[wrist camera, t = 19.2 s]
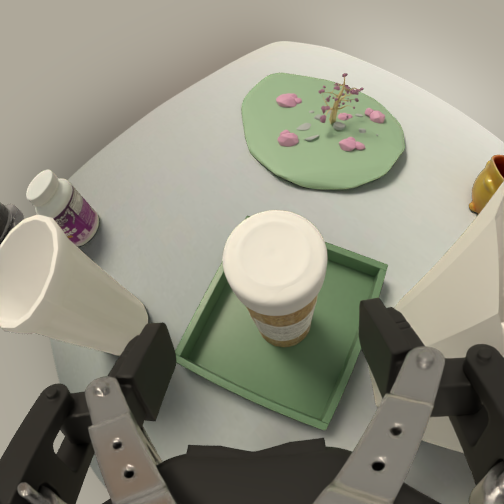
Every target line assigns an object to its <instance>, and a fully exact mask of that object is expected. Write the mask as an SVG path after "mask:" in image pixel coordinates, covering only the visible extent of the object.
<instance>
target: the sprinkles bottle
mask: <svg viewBox="0 0 504 504" xmlns="http://www.w3.org/2000/svg"><path fill="white" fill-rule="evenodd" d="M327 259H328V257H327V248H326V244H325V242H324V239H323V237H322V235H321V233H320V232H319V231H318V229H317V228H316V227H315V226H314V225H313V224H312V223H311V222H310V221H308V220H307V219H305V218H304V217H302V216H300V215H298V214H295V213H292V212H288V211H281V210H272V211H265V212H260V213H258V214H255V215H253V216H251V217H249V218H247V219H245V220H244V221H243V222H241V223H240V224H239V225H238V226H237V227H236V228H235V229H234V230H233V232H232V233H231V234H230V236H229V238H228V240H227V242H226V244H225V248H224V251H223V269H224V273H225V276H226V279H227V281H228V283H229V285H230V287H231V288H232V290H233V292H234V293H235V295H236V296H237V298H238V299H239V300H240V301H241V302H242V303H243V304H244V305H245V306H246V308H247V309H248V311H249V314H250V316H251V318H252V320H253V321H254V323H255V325H256V326H257V328H258V330H259V332H260V334H261V335H262V337H263V338H264V339H265V340H266V341H267V342H269V343H270V344H272V345H274V346H278V347H290V346H294V345H296V344H298V343H299V342H301V341H302V340H303V339H304V338H305V337H306V336H307V334H308V332H309V330H310V327H311V320H312V317H313V313H314V309H315V305H316V302H317V297H318V293H319V291H320V289H321V287H322V285H323V282H324V278H325V274H326V268H327Z"/></svg>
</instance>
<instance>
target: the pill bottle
mask: <svg viewBox="0 0 504 504" xmlns="http://www.w3.org/2000/svg"><path fill="white" fill-rule="evenodd" d="M26 197H27V199H28V200H29V201H30V202H31V203H32V204H33V205H35V211H36V214H37V215H43V216H47V217H51V218H53V219H54V220H55V222H56V223H57V224H58V225H59V227H60V228H61V229H62V230H63V232H64V233H65V235H66V236H67V238H68V239H69V240H70V241H71V242H73V243H74V244H75V245H76V246H81V245H84V244H85V243H87V242H88V241H89V240H90V239H91V238H92V237H93V236H94V235H95V233H96V231H97V228H98V225H99V218H98V214H97V213H96V211H95V210H94V209H93V208H92V207H91V206H90V205H89V204H88V203H87V202H86V200H85V199H84V198H83V197H82V196H81V195H80V194H79V193H78V191H77V190H76V189H75V188H74V187H73V186H72V185H71V183H70V182H69V181H67V180H65V179H58V178H57V176H56V175H55V174H54V173H53V172H52V171H51V170H44V171H42V172H41V173H39V174H38V175H37V176H36V177H35V178H34V179H33V180H32V181H31V183H30V185H29V187H28V189H27V192H26Z"/></svg>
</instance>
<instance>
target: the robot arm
mask: <svg viewBox="0 0 504 504" xmlns="http://www.w3.org/2000/svg"><path fill="white" fill-rule="evenodd" d="M11 222H12V213H11V211H10V210H9V209H8V208H7V207H5V206H4V205H3V204H1V203H0V245H1V243H2V242H3V241H4V239H5V238H6V236H7V234H8V231H9V229H10V226H11ZM359 342H360V346H361V348H362V351H363V353H364V355H365V358H366V360H367V362H368V365H369V367H370V370H371V372H372V374H373V377H374V379H375V382H376V384H377V386H378V389H379V391H380V394H381V396H382V401H381V403H380V405H379V407H378V409H377V411H376V413H375V414H374V416H373V418H372V420H371V422H370V423H369V425H368V427H367V429H366V430H365V432H364V434H363V436H362V437H361V439H360V441H359V442H358V444H357V446H356V447H355V449H354V450H353V452H351V451H348V450H345V449H341V448H335V447H325V440H324V438H319V439H312V440H304V441H295V442H289V443H285V444H282V445H278V446H275V447H271V448H268V449H264V450H260V451H256V452H251V451H245V450H239V449H234V448H228V447H224V446H201V445H188V449H187V453H186V454H184V455H179V456H176V457H173V458H170V459H168V460H166V461H162V460H161V458H160V456H159V455H158V453H157V451H156V449H155V447H154V446H153V444H152V442H151V440H150V438H149V436H148V434H147V432H146V430H145V429H144V427H143V423H144V420H147V421H156V418H157V415H158V413H159V410H160V407H161V404H162V402H163V399H164V396H165V393H166V391H167V388H168V385H169V382H170V380H171V377H172V374H173V372H174V369H175V366H176V353H175V350H174V347H173V344H172V341H171V338H170V335H169V332H168V329H167V326H166V325H165V323H148V324H146V325H145V327H144V328H143V330H142V332H141V333H140V335H137V336H135V337H134V338H133V339H132V340H131V341H129V342H128V344H127V345H126V347H125V349H124V351H123V352H122V353H121V355H120V357H119V358H118V360H117V361H116V363H115V365H114V366H113V368H112V370H111V371H110V373H109V375H108V376H105V377H100V378H97V379H95V380H94V381H92V382H91V383H90V384H89V385H88V386H87V388H86V390H85V392H79V393H72V394H71V393H70V392H69V390H68V388H67V387H66V386H65V385H63V384H54V385H51V386H49V387H47V388H46V389H45V390H44V391H43V392H42V393H41V394H40V396H39V397H38V399H37V400H36V402H35V403H34V405H33V406H32V408H31V409H30V411H29V413H28V414H27V416H26V417H25V419H24V420H23V422H22V424H21V425H20V427H19V429H18V430H17V432H16V433H15V435H14V437H13V438H12V440H11V442H10V444H9V445H8V447H7V449H6V451H5V452H4V454H3V456H2V457H1V459H0V504H76V501H77V498H78V495H79V493H80V490H81V487H82V484H83V481H84V479H85V476H86V473H87V471H88V468H89V465H90V463H91V460H92V458H93V455H94V453H95V455H96V458H97V461H98V464H99V467H100V470H101V473H102V476H103V479H104V482H105V485H106V487H107V490H108V493H109V495H110V499H109V500H107V501H106V502H104V503H103V504H441V503H439V502H437V501H435V500H433V499H432V498H430V497H428V496H426V495H424V494H423V493H421V492H419V491H417V490H415V489H414V488H412V487H410V486H409V485H407V484H405V483H404V480H405V478H406V476H407V474H408V472H409V469H410V467H411V465H412V463H413V460H414V458H415V456H416V453H417V451H418V448H419V446H420V443H421V441H422V438H423V436H424V433H425V430H426V427H427V425H428V422H429V419H430V417H445V416H448V417H449V419H450V421H451V424H452V426H453V428H454V430H455V433H456V435H457V437H458V440H459V442H460V445H461V447H462V449H463V452H464V454H465V457H466V459H467V462H468V465H469V467H470V470H471V472H472V475H473V478H474V481H475V483H476V486H475V487H474V489H473V490H472V492H471V494H470V497H469V504H504V358H503V356H502V355H501V354H500V353H499V351H498V350H497V349H496V348H494V347H492V346H490V345H487V344H476V345H473V346H472V347H470V348H469V349H468V351H467V353H466V357H465V358H445V357H444V355H443V354H442V353H441V352H440V351H439V350H437V349H435V348H433V347H427V346H425V345H424V344H423V342H422V341H421V339H420V338H419V337H418V335H417V334H416V332H415V331H414V330H413V328H412V327H411V326H410V324H409V323H408V321H406V319H405V317H404V316H403V315H402V313H401V312H399V311H397V310H396V309H394V308H392V307H390V308H386V307H385V306H384V305H383V303H382V302H381V300H380V299H379V298H373V299H367V300H361V301H360V305H359ZM59 430H61V431H62V433H63V434H64V435H65V438H64V440H63V442H62V444H61V446H60V448H59V450H58V452H57V454H55V452H54V449H53V442H54V440H55V438H56V436H57V434H58V432H59Z"/></svg>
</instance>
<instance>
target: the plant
mask: <svg viewBox="0 0 504 504" xmlns="http://www.w3.org/2000/svg"><path fill="white" fill-rule="evenodd" d="M347 75H348V74H347V73H344V74H343V75H342V77H344V83H343V84H342V85H341V84H338V83H335V82H332V81H328V80H324V79H318V78H313V77H307V76H301V75H294V74H287V73H276V74H271V75H268V76H267V77H265V78H264V79H263V80H261V81H260V82H259V83H258V84H257V85H256V86H255V87H254V88H253V89H252V90H251V91H250V92H249V93H248V94H247V95H246V97H245V98H244V100H243V103H242V109H241V111H242V119H243V126H244V133H245V139H246V142H247V145H248V148H249V151H250V153H251V154H252V155H253V156H254V157H255V158H256V159H257V160H258V161H259V162H260V163H261V164H263V165H264V166H265V167H266V168H268V169H269V170H270V171H271V172H273V173H274V174H275V175H277V176H279V177H282V178H284V179H286V180H288V181H290V182H293V183H295V184H297V185H299V186H302V187H306V188H313V189H321V190H327V189H350V188H355V187H358V186H360V185H363V184H365V183H368V182H370V181H373V180H376V179H378V178H380V177H382V176H383V175H385V174H386V173H387V172H388V171H389V170H390V169H391V167H392V166H393V165H394V163H395V162H396V161H397V159H398V158H399V156H400V155H401V154H402V152H403V151H404V149H405V143H404V134H403V130H402V128H401V125H400V124H399V122H398V121H397V120H396V119H395V118H394V117H393V116H392V115H391V114H390V113H389V112H388V111H387V110H386V109H385V108H384V107H383V106H382V105H381V104H380V103H379V102H377V101H376V100H375V99H373V98H371V97H369V96H367V95H365V94H363V93H361V92H360V91H361V90H363V88H360V89H357V88H355V89H356V90H354V88H352V89H351V88H350V87H349V86H348V85H345V76H347Z"/></svg>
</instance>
